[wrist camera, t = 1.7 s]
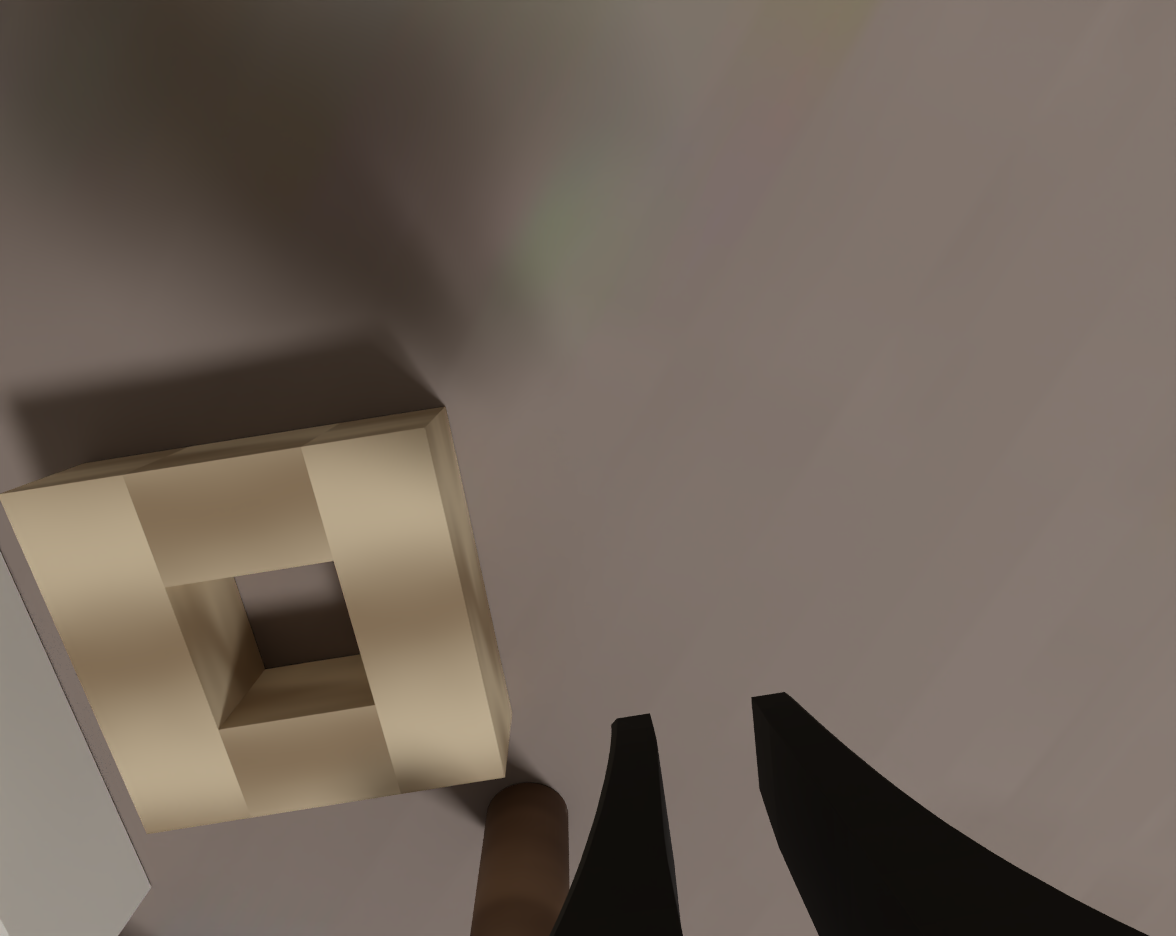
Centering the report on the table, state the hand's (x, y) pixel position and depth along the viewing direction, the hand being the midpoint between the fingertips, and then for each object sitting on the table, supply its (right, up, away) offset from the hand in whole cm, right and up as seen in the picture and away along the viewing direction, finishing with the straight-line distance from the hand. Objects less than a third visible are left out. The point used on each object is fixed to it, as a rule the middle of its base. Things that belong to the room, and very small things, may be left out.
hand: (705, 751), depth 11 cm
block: (-11, +1, +9) cm, 14 cm away
